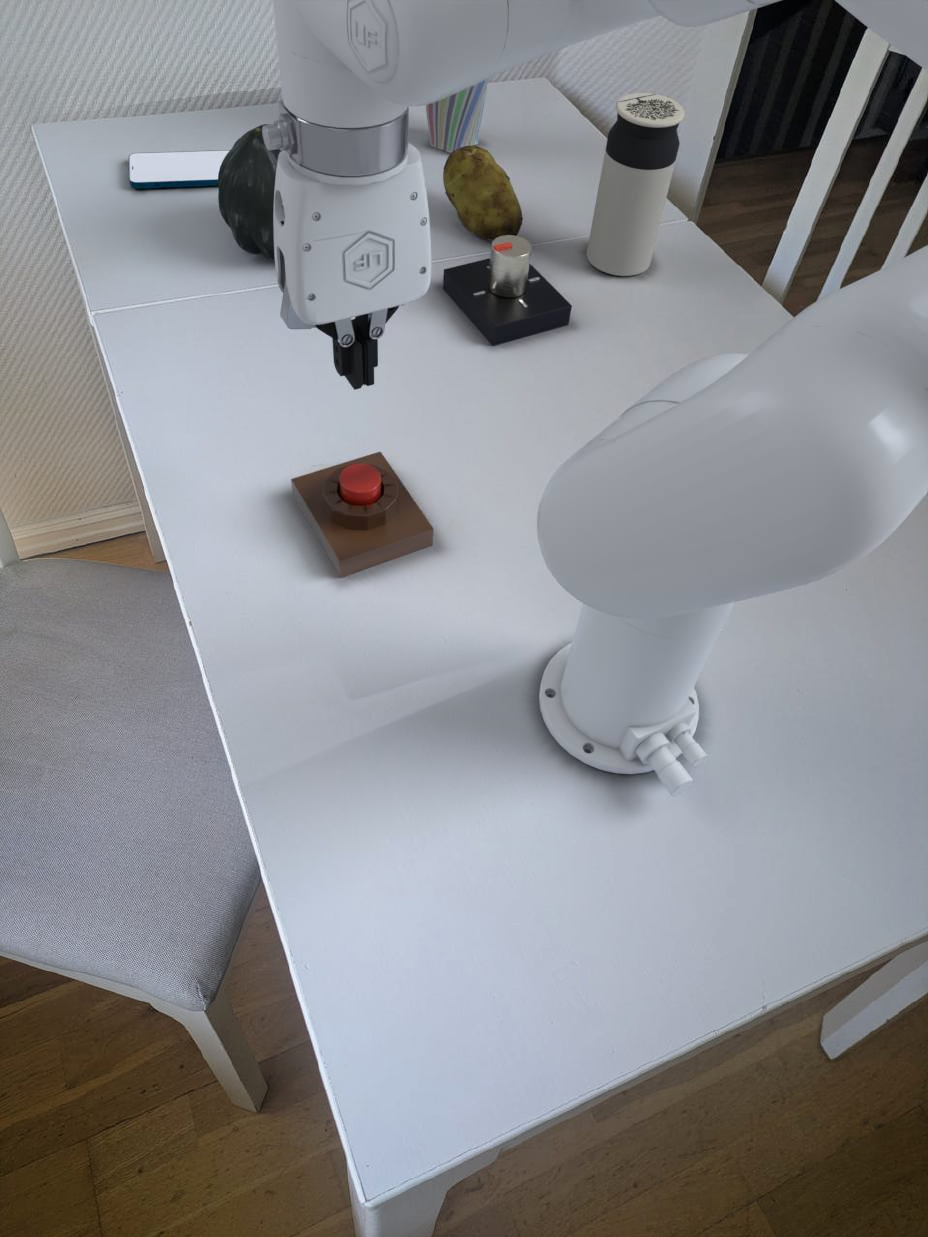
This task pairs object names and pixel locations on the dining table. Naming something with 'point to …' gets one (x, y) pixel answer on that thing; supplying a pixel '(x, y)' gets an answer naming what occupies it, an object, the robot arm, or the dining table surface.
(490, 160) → the potato
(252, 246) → the squash
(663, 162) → the travel mug
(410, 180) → the robot arm
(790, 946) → the dining table surface
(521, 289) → the hob knob
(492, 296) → the hob panel
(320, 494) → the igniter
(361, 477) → the button
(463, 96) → the vase
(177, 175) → the smartphone
